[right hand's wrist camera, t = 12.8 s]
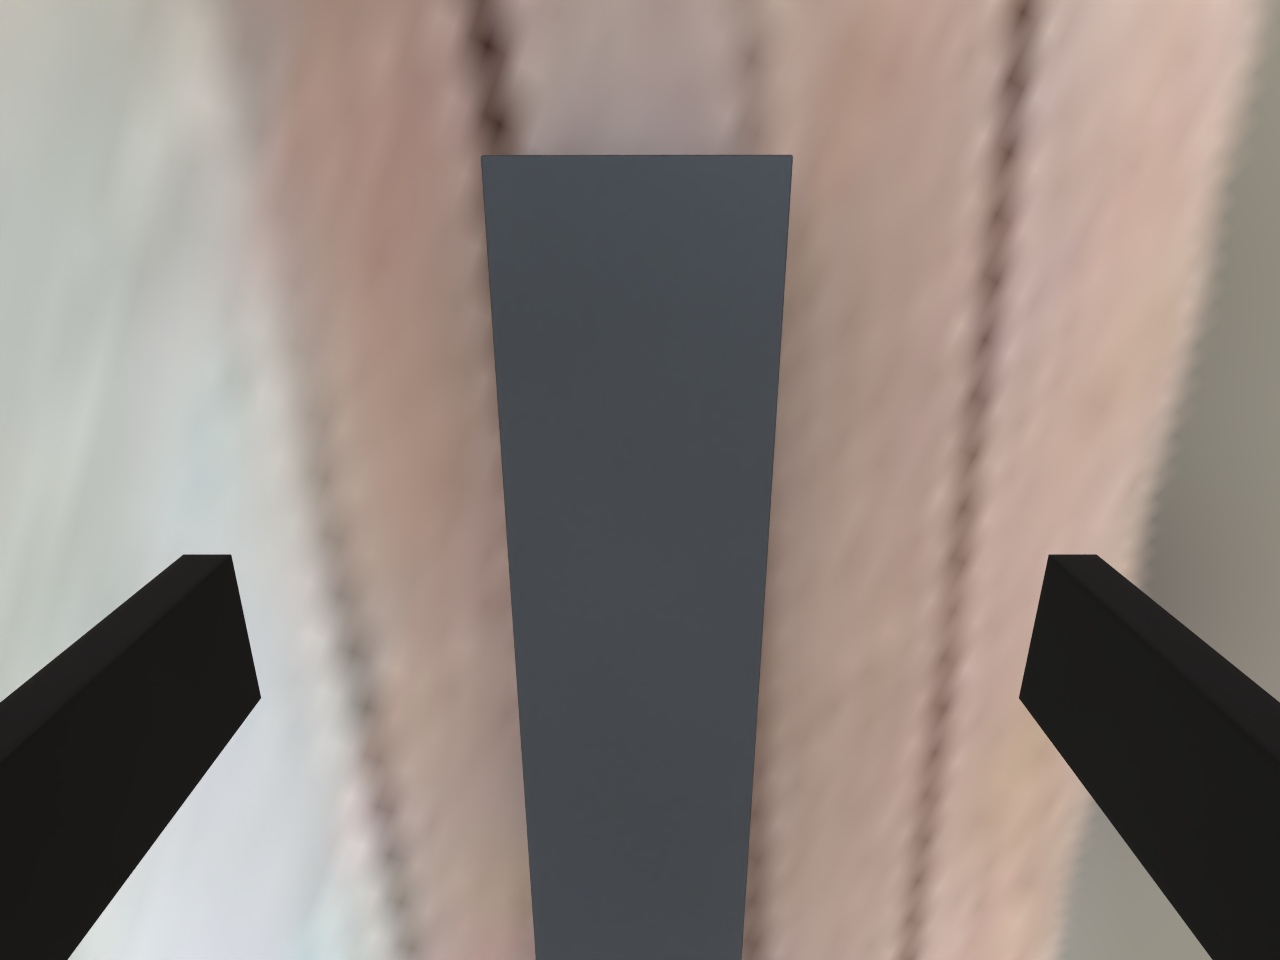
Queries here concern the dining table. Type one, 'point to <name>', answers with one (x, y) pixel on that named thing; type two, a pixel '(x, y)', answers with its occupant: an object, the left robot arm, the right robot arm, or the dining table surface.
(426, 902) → the dining table surface
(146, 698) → the right robot arm
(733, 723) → the wide beam
